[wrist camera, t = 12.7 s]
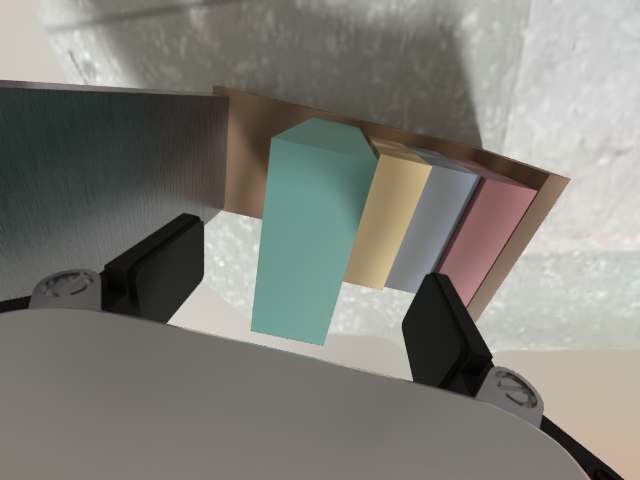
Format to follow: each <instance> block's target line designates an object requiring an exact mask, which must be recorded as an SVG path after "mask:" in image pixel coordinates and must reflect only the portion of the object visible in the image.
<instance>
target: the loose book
mask: <svg viewBox="0 0 640 480" xmlns="http://www.w3.org/2000/svg"><path fill="white" fill-rule="evenodd" d="M377 164H378V160H377V159H376V157H375V155H374V153H373V152H372V150H371V148H370V146H369V144H368V143H367V141H366V139H365V137H364V136H363V134H362V132H361V130H360V128H359V127H354V126H350V125H345V124H341V123H337V122H332V121H328V120H323V119H319V118H314V117H312V118H310V119H308V120H306V121H304V122H302V123H300V124H298V125H296V126H294V127H292V128H290V129H288V130H286V131H284V132H282V133H280V134H278V135H276V136H274V137H272V138H271V147H270V156H269V166H268V175H267V184H266V193H265V203H264V212H263V221H262V231H261V240H260V249H259V258H258V268H257V277H256V286H255V296H254V305H253V314H252V323H251V331H254V332H258V333H263V334H268V335H273V336H278V337H283V338H287V339H292V340H297V341H302V342H306V343H311V344H316V345H321V346H323V345H324V342H325V338H326V335H327V332H328V328H329V325H330V322H331V318H332V315H333V311H334V308H335V305H336V301H337V298H338V295H339V291H340V288H341V285H342V281H343V278H344V275H345V271H346V268H347V264H348V261H349V258H350V254H351V251H352V248H353V244H354V241H355V238H356V234H357V231H358V228H359V224H360V221H361V217H362V214H363V211H364V207H365V204H366V201H367V197H368V194H369V191H370V187H371V184H372V181H373V177H374V174H375V170H376V167H377Z"/></svg>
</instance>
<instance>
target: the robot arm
mask: <svg viewBox="0 0 640 480" xmlns="http://www.w3.org/2000/svg"><path fill="white" fill-rule="evenodd" d="M104 269H105V270H103V271H102V272H100V273H99V274H98V273H97V272H95V271H92V270H88V269H71V270H66V271H61V272H58V273H55V274H52V275H50V276H48V277H46V278H44V279H42V280H41V281H40V282H39V283H38V284H37V285H36V286H35V288H34V290H33V293H32V295H30V296H25V297H20V298H15V299H10V300H5V301H0V480H624V479H623V478H621V477H620V476H619V475H618V474H617V473H616V472H615V471H613V470H612V469H611V468H610V467H609V466H607V465H606V464H605V463H603V462H602V461H601V460H600V459H598V458H597V457H596V456H594V455H593V454H592V453H591V452H590V451H588V450H587V449H586V448H584V447H583V446H582V445H581V444H579V443H578V442H577V441H575V440H574V439H573V438H572V437H571V436H569V435H568V434H567V433H565V432H564V431H563V430H562V429H560V428H559V427H558V426H557V425H555V424H554V423H553V422H552V421H550V420H549V419H548V418H546V417H545V416H544V415H543V411H544V406H543V405H544V404H543V401H542V399H541V396H540V395H539V394H538V392H537V391H536V389H535V388H534V387H533V386H532V385H531V384H530V383H529V382H528V381H527V380H526V379H525V378H523V377H522V376H521V375H519V374H518V373H516V372H514V371H512V370H510V369H508V368H505V367H500V366H497V367H495V366H494V364H493V363H492V361H491V359H492V358H493V356H492V354H491V352H490V351H489V349H488V347H487V345H486V343H485V342H484V340H483V338H482V336H481V334H480V333H479V331H478V329H477V327H476V325H475V323H474V322H473V320H472V318H471V316H470V314H469V313H468V311H467V309H466V307H465V305H464V304H463V302H462V300H461V298H460V296H459V294H458V293H457V291H456V289H455V287H454V285H453V284H452V282H451V280H450V278H449V276H448V275H446V274H442V273H437V272H431V273H430V274H426V275H425V277H424V279H423V281H422V283H421V285H420V287H419V289H418V291H417V293H416V295H415V297H414V299H413V301H412V303H411V305H410V307H409V309H408V311H407V313H406V315H405V317H404V319H403V322H402V332H403V336H404V341H405V345H406V350H407V354H408V359H409V363H410V368H411V373H412V377H413V381H409V380H405V379H401V378H396V377H392V376H388V375H384V374H379V373H376V372H371V371H367V370H363V369H359V368H355V367H350V366H346V365H342V364H338V363H334V362H330V361H326V360H321V359H317V358H313V357H309V356H304V355H300V354H296V353H292V352H287V351H283V350H279V349H274V348H270V347H266V346H262V345H257V344H253V343H249V342H245V341H240V340H236V339H231V338H227V337H222V336H218V335H214V334H210V333H205V332H201V331H196V330H192V329H187V328H183V327H178V326H174V325H170V324H166V323H167V322H168V321H169V320H170V318H171V317H172V316H173V315H174V314H175V312H176V311H177V310H178V309H179V308H180V306H181V305H182V304H183V303H184V302H185V300H186V299H187V298H188V297H189V296H190V294H191V293H192V292H193V291H194V290H195V288H196V287H197V286H198V285H199V284H200V282H201V281H202V279H203V276H204V222H203V221H202V220H200V217H199V216H196V215H192V214H188V213H182V214H181V215H179V216H178V217H176V218H175V219H173V220H172V221H170V222H169V223H167V224H166V225H164V226H163V227H161V228H160V229H158V230H157V231H155V232H154V233H152V234H151V235H149V236H148V237H146V238H145V239H143V240H142V241H140V242H139V243H137V244H136V245H134V246H133V247H131V248H130V249H128V250H127V251H125V252H124V253H122V254H121V255H119V256H118V257H116V258H115V259H113V260H112V261H110V262H109V263H107V264H106V265H104Z"/></svg>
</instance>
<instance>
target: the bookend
mask: <svg viewBox="0 0 640 480" xmlns="http://www.w3.org/2000/svg"><path fill="white" fill-rule="evenodd" d="M228 114H229V97H228V96H224V95H220V94H216V93H202V92H186V91H170V90H154V89H138V88H122V87H107V86H91V85H75V84H59V83H58V84H57V83H43V82H42V83H41V82H26V81H10V80H0V301H5V300H10V299H15V298H20V297H25V296H30V295H32V293H33V290H34V288H35V286H36V285H37V284H38V283H39V282H40V281H41V280H42V279H44V278H46V277H48V276H50V275H52V274H55V273H58V272H61V271H66V270H71V269H88V270H92V271H95V272H97V273H98V274H99V273H100V272H102V271H103V270H105V269H104V265H106V264H107V263H109V262H110V261H112V260H113V259H115V258H116V257H118V256H119V255H121V254H122V253H124V252H125V251H127V250H128V249H130V248H131V247H133V246H134V245H136V244H137V243H139V242H140V241H142V240H143V239H145V238H146V237H148V236H149V235H151V234H152V233H154V232H155V231H157V230H158V229H160V228H161V227H163V226H164V225H166V224H167V223H169V222H170V221H172V220H173V219H175V218H176V217H178V216H179V215H181V214H182V213H188V214H192V215H196V216H199V217H200V220H202V221H203V222H204V225H205V224H207V223H208V222H209V221H210V220H211V219H212V218H213V217H214V216H216V215H217V214H218V213H219V212H220V211H221V210H222V209H223V208H224V207H225V184H226V160H227V137H228Z"/></svg>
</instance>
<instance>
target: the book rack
mask: <svg viewBox="0 0 640 480" xmlns="http://www.w3.org/2000/svg"><path fill="white" fill-rule="evenodd" d="M213 93H216V94H220V95H224V96H228V97H229V114H228V137H227V160H226V184H225V207H224V208H223V209H222V210H223V211H227V212H232V213H236V214H241V215H245V216H249V217H254V218H258V219H263V212H264V203H265V193H266V184H267V175H268V166H269V156H270V147H271V138H272V137H274V136H276V135H278V134H280V133H282V132H284V131H286V130H288V129H290V128H292V127H294V126H296V125H298V124H300V123H302V122H304V121H306V120H308V119H310V118H312V117H314V118H319V119H323V120H328V121H332V122H337V123H341V124H345V125H350V126H354V127H359V128H360V130H361V132H362V134H363V136H364V137H365V139H366V141H367V143H368V144H369V146H370V148H371V150H372V152H373V153H374V155H375V157H376V159H377V160H378V164H377V167H376V170H375V174H374V177H373V181H372V184H371V187H370V191H369V194H368V197H367V201H366V204H365V207H364V211H363V214H362V217H361V221H360V224H359V228H358V231H357V234H356V238H355V241H354V244H353V248H352V251H351V254H350V258H349V261H348V264H347V268H346V271H345V275H344V278H343V282H347V283H352V284H356V285H361V286H365V287H370V288H374V289H379V290H382V289H383V287H388V288H393V289H397V290H402V291H406V292H411V293H415V294H416V293H417V291H418V289H419V287H420V285H421V283H422V281H423V279H424V277H425V275H426V274H430V273H431V272H437V273H442V274H446V275H448V276H449V278H450V280H451V282H452V284H453V285H454V287H455V289H456V291H457V293H458V294H459V296H460V298H461V300H462V302H463V304H464V305H465V307H466V309H467V311H468V313H469V314H470V316H471V318H472V320H473V322H476V321H477V320H478V318H479V317H480V315H481V314H482V312H483V311H484V309H485V308H486V306H487V305H488V303H489V302H490V300H491V299H492V297H493V296H494V294H495V293H496V291H497V290H498V288H499V287H500V285H501V284H502V282H503V281H504V279H505V278H506V276H507V275H508V273H509V272H510V270H511V269H512V267H513V266H514V264H515V263H516V261H517V260H518V258H519V257H520V255H521V254H522V252H523V251H524V249H525V248H526V246H527V245H528V243H529V242H530V240H531V239H532V237H533V235H534V234H535V232H536V231H537V229H538V228H539V226H540V225H541V223H542V222H543V220H544V219H545V217H546V216H547V214H548V213H549V211H550V210H551V208H552V207H553V205H554V204H555V202H556V201H557V199H558V198H559V196H560V195H561V193H562V192H563V190H564V189H565V187H566V186H567V184H568V183H569V181H570V180H571V179H569V178H566V177H563V176H560V175H557V174H554V173H552V172H549V171H546V170H543V169H540V168H537V167H534V166H531V165H528V164H525V163H522V162H519V161H516V160H514V159H511V158H508V157H505V156H502V155H499V154H496V153H493V152H490V151H487V150H484V149H481V148H476V147H472V146H468V145H464V144H460V143H455V142H451V141H447V140H443V139H439V138H434V137H430V136H426V135H422V134H417V133H413V132H409V131H405V130H401V129H396V128H392V127H388V126H384V125H380V124H375V123H371V122H367V121H363V120H359V119H354V118H350V117H346V116H342V115H337V114H333V113H329V112H325V111H321V110H316V109H312V108H308V107H304V106H300V105H295V104H291V103H287V102H283V101H278V100H274V99H270V98H266V97H262V96H257V95H253V94H249V93H245V92H241V91H236V90H232V89H228V88H224V87H219V86H213Z"/></svg>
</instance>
